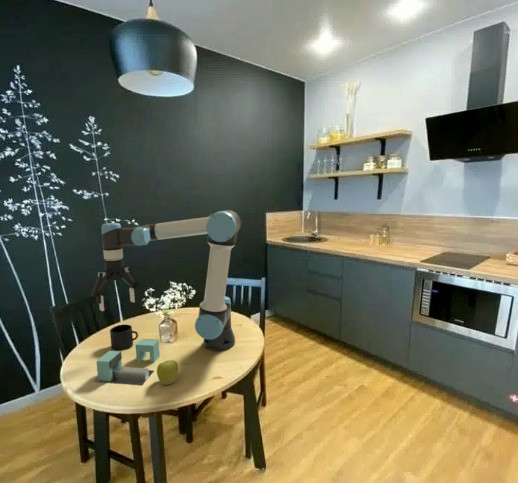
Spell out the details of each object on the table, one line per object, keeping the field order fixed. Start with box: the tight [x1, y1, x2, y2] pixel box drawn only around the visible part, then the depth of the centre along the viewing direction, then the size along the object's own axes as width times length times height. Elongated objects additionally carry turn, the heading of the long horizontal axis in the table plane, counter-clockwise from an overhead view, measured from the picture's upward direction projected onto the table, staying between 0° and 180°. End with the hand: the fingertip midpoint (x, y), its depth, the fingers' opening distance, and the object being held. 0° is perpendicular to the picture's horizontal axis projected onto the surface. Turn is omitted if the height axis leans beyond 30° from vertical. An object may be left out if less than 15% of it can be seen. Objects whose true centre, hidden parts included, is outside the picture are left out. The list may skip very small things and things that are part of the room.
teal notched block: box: [96, 350, 123, 381], centre depth 122 cm, size 6×8×8 cm
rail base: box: [92, 366, 155, 386], centre depth 122 cm, size 20×10×3 cm, turn 82°
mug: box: [109, 324, 139, 351], centre depth 147 cm, size 9×12×9 cm
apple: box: [156, 359, 180, 386], centre depth 118 cm, size 8×8×10 cm
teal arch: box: [135, 338, 160, 363], centre depth 135 cm, size 6×8×8 cm
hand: (117, 306), depth 137 cm, fingers open, 13 cm apart
